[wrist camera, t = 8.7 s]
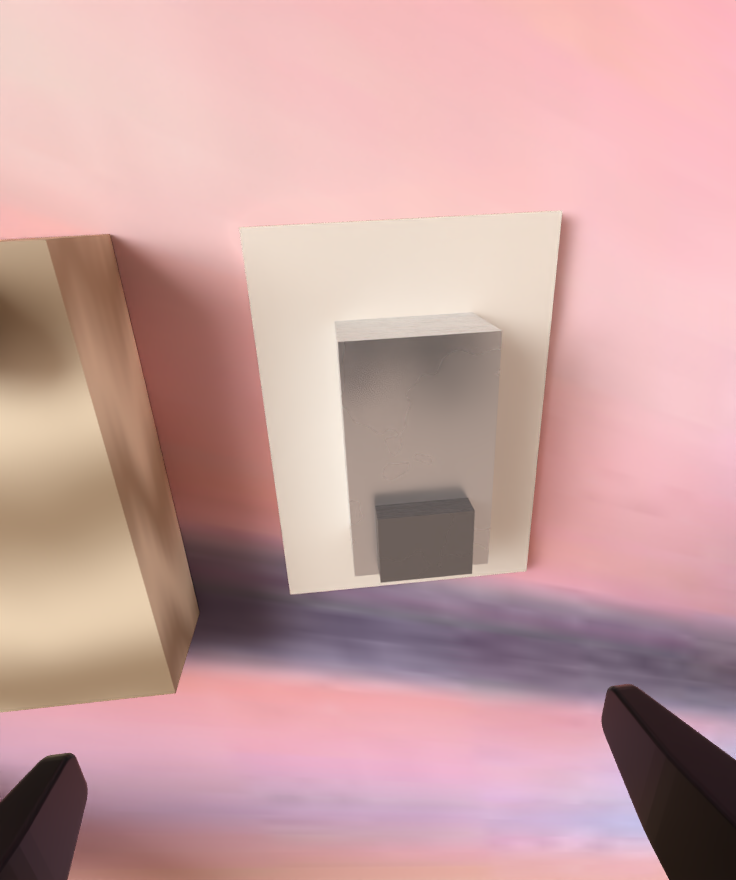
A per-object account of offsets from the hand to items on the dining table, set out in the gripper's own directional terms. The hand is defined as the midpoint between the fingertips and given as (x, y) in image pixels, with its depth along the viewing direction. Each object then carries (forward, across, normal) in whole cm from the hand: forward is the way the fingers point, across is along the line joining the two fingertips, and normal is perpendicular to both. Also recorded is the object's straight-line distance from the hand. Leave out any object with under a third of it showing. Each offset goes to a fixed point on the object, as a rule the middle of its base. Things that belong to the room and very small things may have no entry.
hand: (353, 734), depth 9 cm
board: (+12, -3, -1) cm, 12 cm away
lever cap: (+11, -3, -1) cm, 11 cm away
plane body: (+12, +9, 0) cm, 15 cm away
